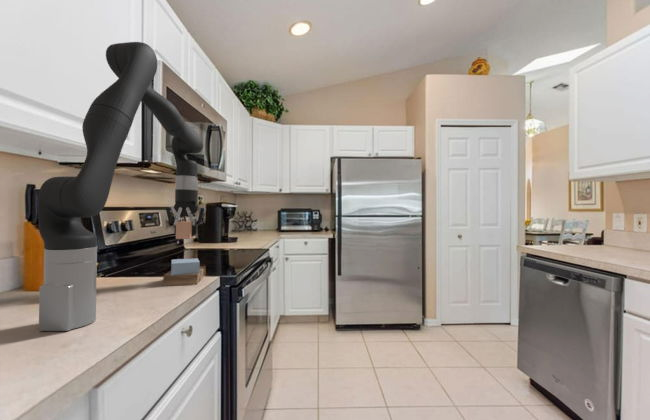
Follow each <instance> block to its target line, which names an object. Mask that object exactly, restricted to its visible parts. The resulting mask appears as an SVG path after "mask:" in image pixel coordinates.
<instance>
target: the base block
mask: <svg viewBox="0 0 650 420" xmlns="http://www.w3.org/2000/svg"><path fill="white" fill-rule="evenodd" d="M162 279H163V281H162V282H163V284H162V285H163V286H186V285H187V286H188V284H190V285H198V284H199V283H200V282H201V281H202V280H203V279H204V268H200V273H196V274H182V275H171V270H170V271H168V272H166V273H164V274H163V277H162ZM185 284H186V285H185ZM190 285H189V286H190Z"/></svg>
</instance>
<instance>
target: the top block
mask: <svg viewBox="0 0 650 420" xmlns="http://www.w3.org/2000/svg"><path fill="white" fill-rule="evenodd" d="M200 263H201V261H200V260H199V258H198V257H197V258H196V257H195V258H177V259H176V258H175V259H171V263H170V264H171V266H170V267H171V268H170V269H171V270H170V271H171V275H182V274H196V273H200V269H201V268H200V267H201V265H200Z"/></svg>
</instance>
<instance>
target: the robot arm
mask: <svg viewBox="0 0 650 420" xmlns="http://www.w3.org/2000/svg"><path fill="white" fill-rule="evenodd" d="M105 60H106V62H107V64H108V67H109V68H110V71H112V73H113V74H115V76H116V77H117V78H118V79H117V80H116V81H114V82H113V83H112V84H111V85H109V86H108V87H107V88H106V89H105V90H103V91H102V92H101V93H100V94H99V95H98V96H97V97H96V98H95V99H93V101H92V102H91V104H90V106H89V108H88V110H87V112H86V114H85V116H84V119H83V123H82V134H83V139H84V142H85V146H86V156H85V160H84V162H83V165H82V167H81V169H80V171H79V172H78V174H77V176H54V177H50V178H48V179H47V180H45V181H44V182H43V183H42V184H41V186H40V188H39V191H38V197H37V214H38V215H37V217H38V230H39V235H40V237H41V239H42V241H43V244H44V245H43V284H42V285H40V286H39V290H38V292H39V293H38V294H39V295H38V296H39V298H38V300H39V301H38V302H39V303H38V304H39V305H38V306H39V307H38V331H39V332H45V331H46V332H69V331H70V330H74V329H78V328H81V327H85V326H87V325H90V324H92V323H94V322H95V321H96V320H97V318H96V317H97V276H98V275H97V274H98V273H97V271H98V270H97V268H98V262H97V261H98V237H97V235H96V233H94V232H92V231H90V230H88V229H87V228H86V227H85V226H84V225H83V223H82V218H91V217H96V216H97V215H99V214H100V213H101V212H102V210H103V209H104V208H105V206H106V204H107V201H108V199H109V194H110V191H111V187H112V182H113V179H114V174H115V171H116V167H117V164H118V161H119V158H120V155H121V153H122V150H123V147H124V144H125V142H126V140H127V138H128V135H129V133H130V131H131V128H132V126H133V122H134V120H135V116H136V114H137V112H138V110H139V107H140V104H141V102H142V104H144V106H145V107H147V109H148V110H149V111H150V112H151V114H153V115H154V117H155V118H156V119H157V121H158V122H159V124H160V125H161V127H162V129H164V130H165V132H166V133H167V134H168V135H169V136H171V137H172V138H171V145H170V146H171V150H172V153H173V157H174V161H175V165H176V166H175V167H176V169H175V174H176V175H175V188H174V189H175V190H174V201H175V202H174V205H173V206H168V207H166V208H165V210H166V211H165V212H166V215H167V220H168V223H169V224H171V225H173V226H174V228H173V229H174V235H176V222H181V221H183V219H184V218H185V217H187V218H189V221H190V222H192V225H193V226H192V236H197V234H198V226H199V225H203V224H204V219H205V217H206V212H207V208H206V207H202V206H201V207H200V206H199V205H198V203H199V202H198V201H199V199H198V197H199V194H198V193H199V181H198V163H197V162H196V161H195V160H193V159H192V160H191V159H189V158H188V156H187V154H190V155H191V154H192V155H193V154H195V155H196V154H199V153H201V152H202V151H203V148H204V142H203V139H202V138H201V136H200V135H199V133H198V132H197V131H196V130H195V129H194V128H192V127H191V126H190V124H188V123H187V122H186V121H185V120H184V117H183V116H182V114H181V113H180V112H179V110H178V109H177V108H176V106H175V105H174V104H173V103H172V102H171V101H170V100H168V99H167V98H166V97H164V96H163V95H162V94H160V93H159V92H157V91H156V90H155V89H154V88H153V87H152V86H151V83H152V81H153V79H155V76H156V74H157V70H158V58H157V55H156V53H155V51H154V49H153V48H152V46H150V45H149V44H148V43H145V42H142V41H141V42H140V41H127V42H118V43H113V44H110V45H109V46H107V48H106V50H105ZM175 212H176V216H175V215H174V213H175ZM197 212H198V214H199V215H198V217H197V214H196V213H197Z"/></svg>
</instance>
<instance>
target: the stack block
mask: <svg viewBox="0 0 650 420" xmlns="http://www.w3.org/2000/svg"><path fill="white" fill-rule="evenodd" d="M192 226H193V225H192V222H191V221H183V220H181V222H176V234H175V239H176V240H191V239H195V238H196V236H197V235H196V236H192Z"/></svg>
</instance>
